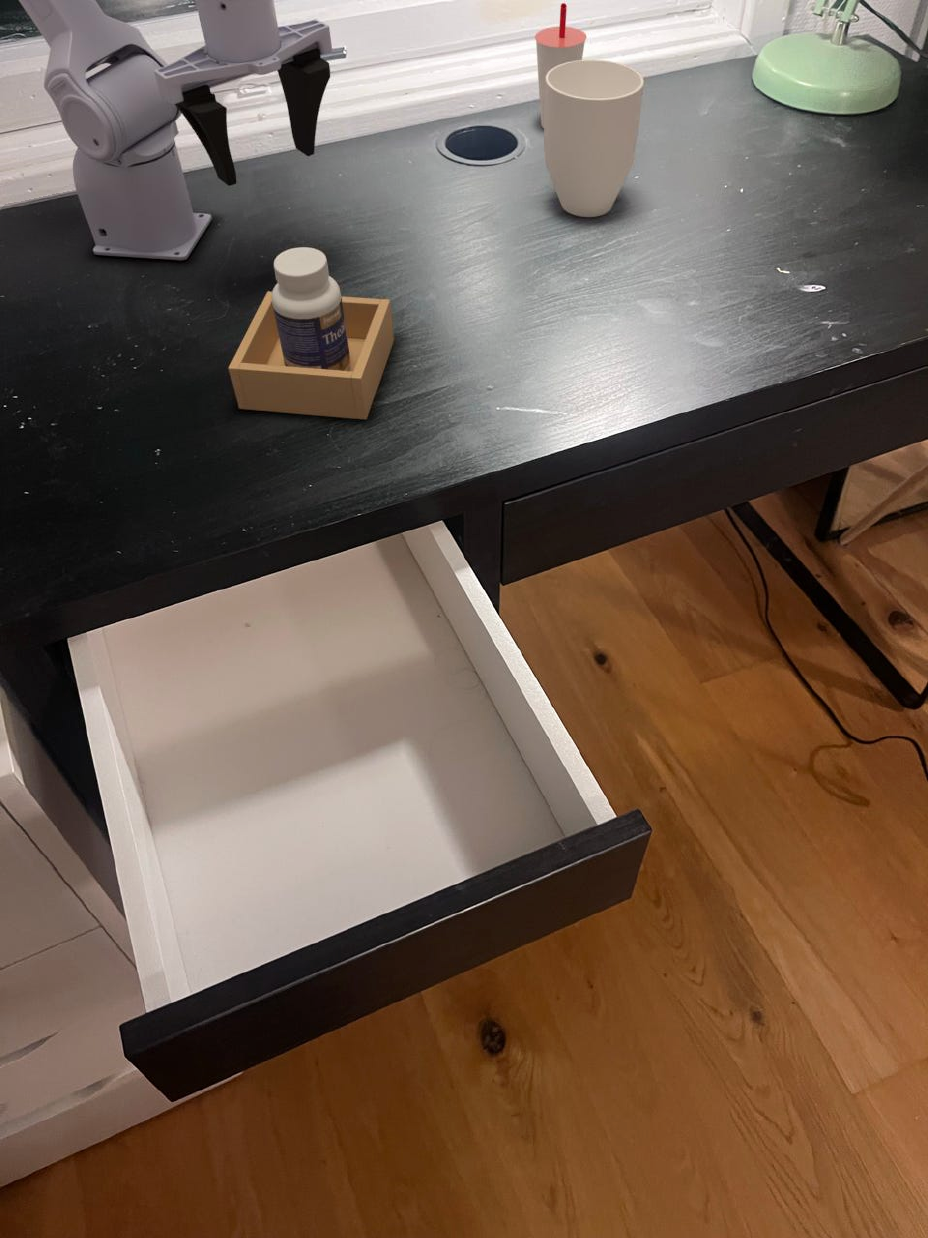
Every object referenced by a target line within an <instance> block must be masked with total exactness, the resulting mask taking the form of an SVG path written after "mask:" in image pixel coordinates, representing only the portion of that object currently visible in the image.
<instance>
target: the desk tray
mask: <svg viewBox="0 0 928 1238" xmlns="http://www.w3.org/2000/svg"><path fill="white" fill-rule="evenodd" d="M341 297H342V305H343V311H344V319H345V326H346V333H347V340H348V347H349V354H350V367H349V370H348V371H339V370H327V369H314V368H301V367H289V366H285V362H284V358H283V352H282V348H281V343H280V338H279V334H278V329H277V324H276V319H275V315H274V310H273V305H272V291H270V290H269V291H267V292H266V294H265V295H264V297H263V299H262V301H261V303H260V305H259V307H258V309H257V311H256V312H255V315H254V317H253V319H252V321H251V323H250V324H249V326H248V328H247V331H246V332H245V334H244V336H243V339H242V340H241V342H240V344H239V346H238V348H237V349H236V352H235V354H234V356H233V358H232V360H231V362H230V363H229V366H228V373H229V376H230V380H231V383H232V387H233V391H234V395H235V399H236V402H237V406H238V409H239V410H249V411H261V412H271V413H284V414H295V415H296V414H297V415H308V416H317V417H318V416H319V417H332V418H342V419H353V420H354V419H355V420H356V419H357V420H365V421H366V420H368V417H369V414H370V411H371V409H372V405H373V402H374V401H375V400H374V399H375V396H376V393H377V391H378V388H379V385H380V382H381V379H382V376H383V375H384V374H383V373H384V370H385V368H386V365H387V362H388V359H389V356H390V354H391V351H392V347H393V345H394V342H395V336H394V325H393V324H394V323H393V314H392V306H391V299H386V298H373V297H372V298H369V297H358V296H357V297H355V296H344V295H343V296H342V295H341Z"/></svg>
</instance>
